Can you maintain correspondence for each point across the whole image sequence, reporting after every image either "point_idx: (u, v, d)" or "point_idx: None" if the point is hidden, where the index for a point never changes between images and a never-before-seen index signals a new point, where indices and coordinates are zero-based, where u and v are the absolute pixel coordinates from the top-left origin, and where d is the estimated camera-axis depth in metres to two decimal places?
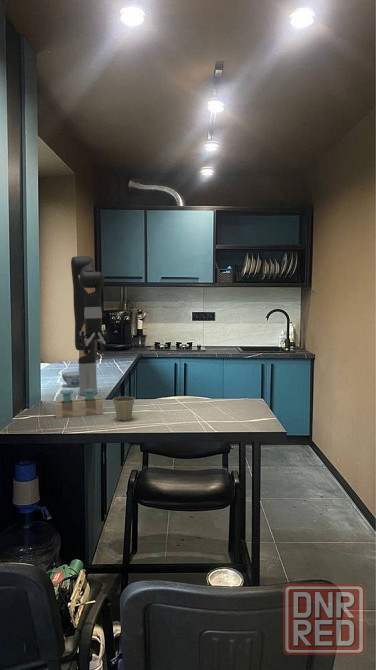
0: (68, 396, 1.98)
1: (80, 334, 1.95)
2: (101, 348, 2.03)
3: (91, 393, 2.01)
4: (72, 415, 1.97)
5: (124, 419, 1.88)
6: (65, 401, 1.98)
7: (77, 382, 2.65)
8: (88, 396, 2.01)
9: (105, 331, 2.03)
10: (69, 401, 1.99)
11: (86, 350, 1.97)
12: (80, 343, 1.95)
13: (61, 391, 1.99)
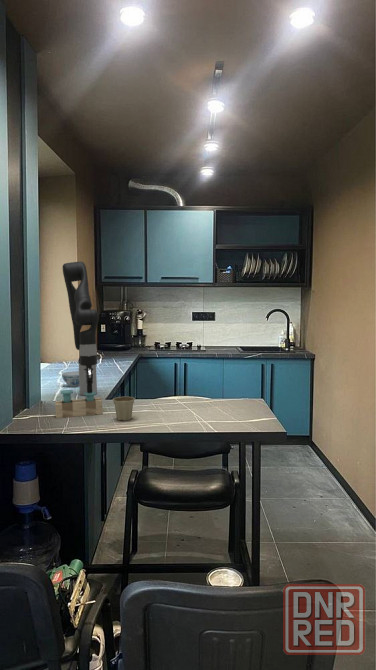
0: (68, 396, 1.98)
1: (90, 377, 1.96)
2: None
3: (91, 396, 2.01)
4: (72, 415, 1.97)
5: (124, 419, 1.88)
6: (65, 401, 1.98)
7: (77, 382, 2.65)
8: (88, 399, 2.01)
9: None
10: (69, 401, 1.99)
11: (91, 388, 2.01)
12: (89, 382, 1.98)
13: (61, 391, 1.99)
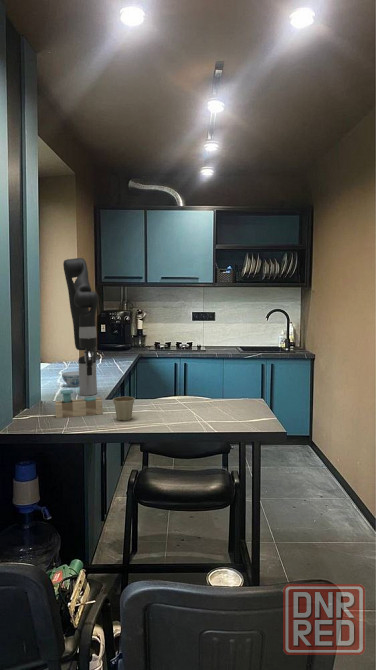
0: (68, 396, 1.98)
1: (89, 359, 1.95)
2: None
3: None
4: (72, 415, 1.97)
5: (124, 419, 1.88)
6: (65, 401, 1.98)
7: (77, 382, 2.65)
8: None
9: None
10: (69, 401, 1.99)
11: (91, 371, 2.01)
12: (89, 364, 1.98)
13: (61, 391, 1.99)
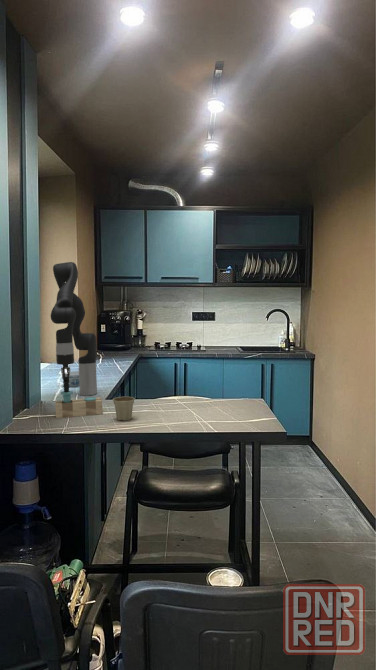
0: (68, 397, 1.98)
1: (66, 376, 1.93)
2: None
3: None
4: (72, 415, 1.97)
5: (124, 419, 1.88)
6: (65, 402, 1.98)
7: (77, 382, 2.65)
8: None
9: None
10: (69, 402, 1.99)
11: (68, 387, 1.98)
12: (66, 381, 1.96)
13: (61, 392, 1.99)
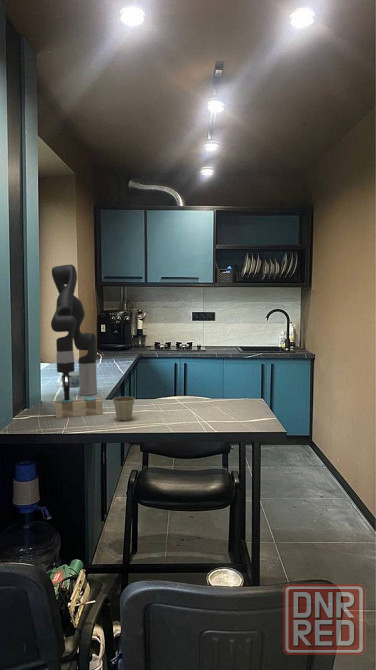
0: None
1: (66, 384, 1.93)
2: None
3: None
4: (72, 415, 1.97)
5: (124, 419, 1.88)
6: None
7: (77, 382, 2.65)
8: None
9: None
10: None
11: (68, 395, 1.99)
12: (66, 389, 1.96)
13: (61, 400, 1.99)
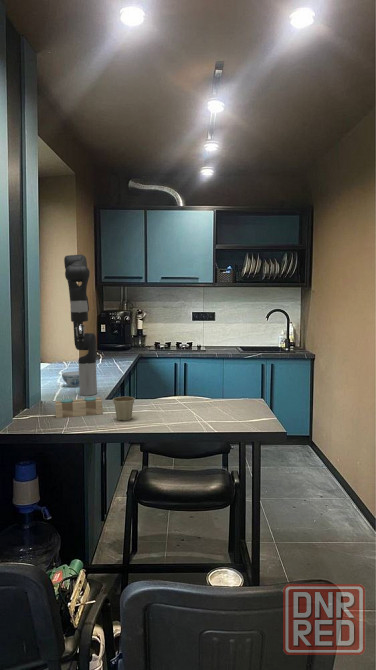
0: None
1: (80, 333, 1.97)
2: None
3: None
4: (72, 415, 1.97)
5: (124, 419, 1.88)
6: None
7: (77, 382, 2.65)
8: None
9: None
10: None
11: None
12: (80, 338, 2.00)
13: (61, 400, 1.99)
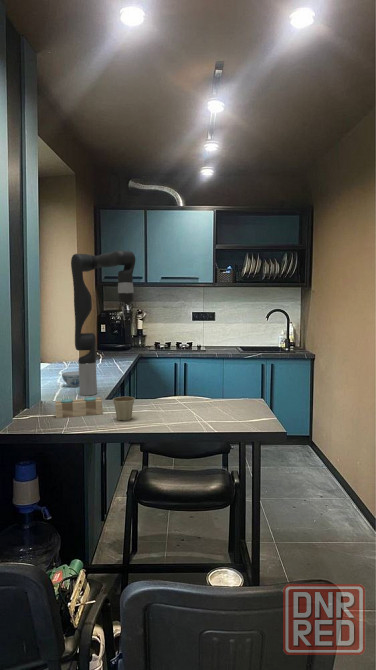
0: None
1: (128, 312, 2.14)
2: None
3: None
4: (72, 415, 1.97)
5: (124, 419, 1.88)
6: None
7: (77, 382, 2.65)
8: None
9: None
10: None
11: None
12: (127, 317, 2.17)
13: (61, 400, 1.99)
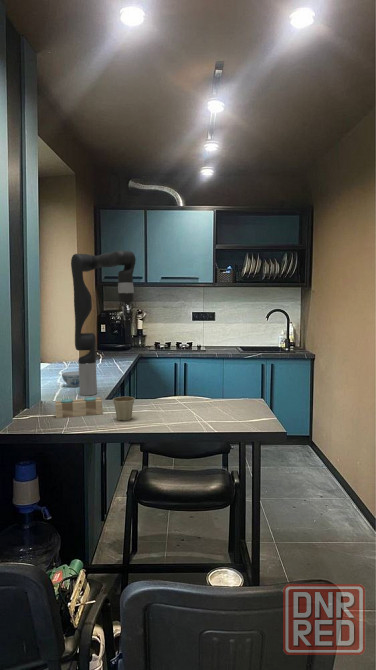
0: None
1: (128, 312, 2.14)
2: None
3: None
4: (72, 415, 1.97)
5: (124, 419, 1.88)
6: None
7: (77, 382, 2.65)
8: None
9: None
10: None
11: (128, 324, 2.20)
12: (127, 317, 2.17)
13: (61, 400, 1.99)
